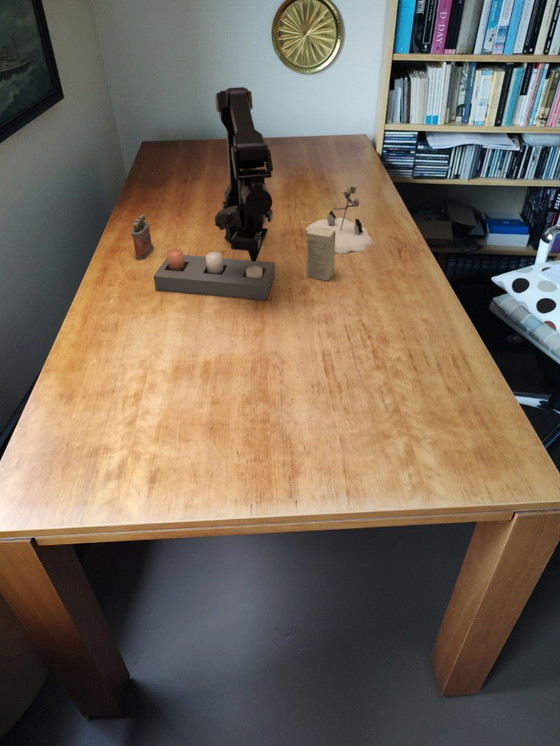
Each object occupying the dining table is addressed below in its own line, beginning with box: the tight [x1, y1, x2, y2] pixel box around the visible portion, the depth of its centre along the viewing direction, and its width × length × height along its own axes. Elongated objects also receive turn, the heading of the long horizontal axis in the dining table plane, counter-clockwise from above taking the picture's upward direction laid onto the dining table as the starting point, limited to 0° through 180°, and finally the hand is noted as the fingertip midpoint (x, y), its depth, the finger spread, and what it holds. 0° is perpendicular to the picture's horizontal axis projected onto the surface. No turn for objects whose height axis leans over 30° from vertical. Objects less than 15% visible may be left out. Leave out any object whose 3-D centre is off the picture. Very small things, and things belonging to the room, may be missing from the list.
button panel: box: [153, 254, 276, 301], centre depth 138 cm, size 28×12×4 cm, turn 80°
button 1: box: [205, 251, 223, 274], centre depth 136 cm, size 4×4×4 cm
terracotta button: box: [166, 248, 185, 271], centre depth 137 cm, size 4×4×4 cm
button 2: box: [246, 266, 263, 278], centre depth 137 cm, size 4×4×4 cm
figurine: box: [305, 184, 374, 255], centre depth 154 cm, size 20×18×16 cm
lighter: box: [130, 214, 154, 261], centre depth 150 cm, size 8×3×10 cm, turn 168°
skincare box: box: [306, 227, 336, 282], centre depth 139 cm, size 6×4×12 cm
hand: (253, 260), depth 134 cm, fingers closed
